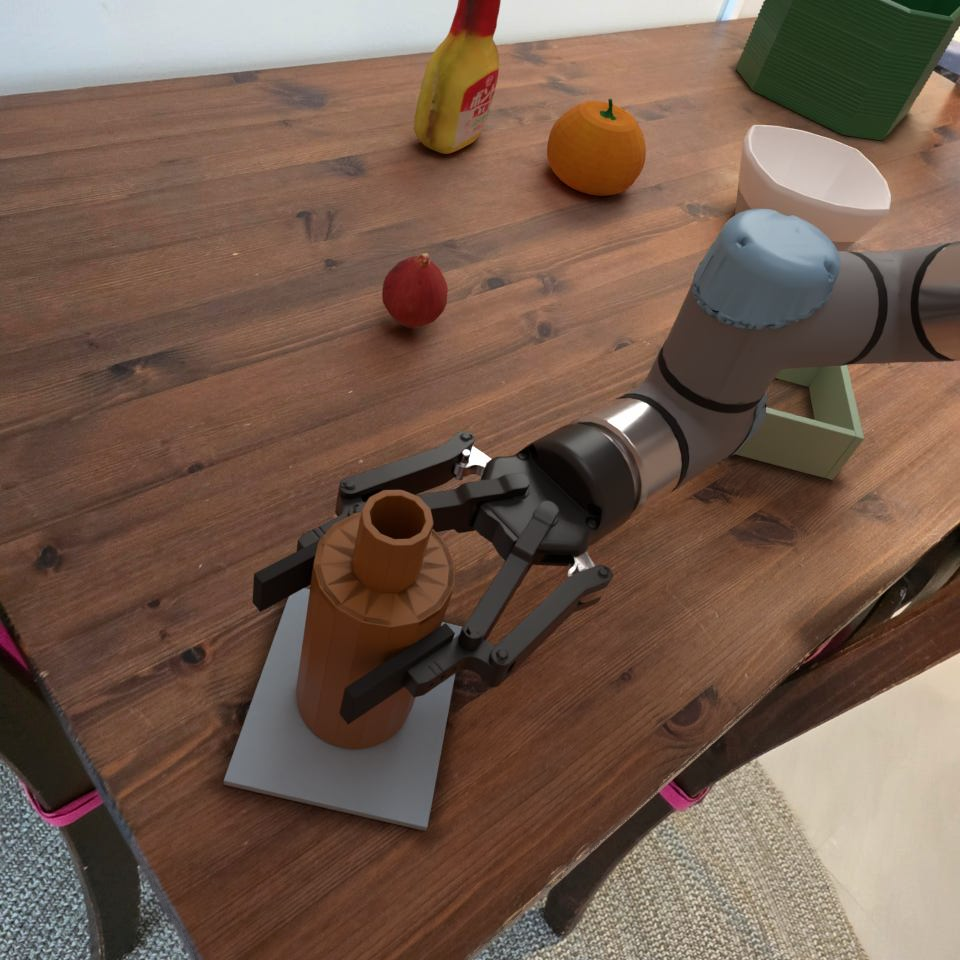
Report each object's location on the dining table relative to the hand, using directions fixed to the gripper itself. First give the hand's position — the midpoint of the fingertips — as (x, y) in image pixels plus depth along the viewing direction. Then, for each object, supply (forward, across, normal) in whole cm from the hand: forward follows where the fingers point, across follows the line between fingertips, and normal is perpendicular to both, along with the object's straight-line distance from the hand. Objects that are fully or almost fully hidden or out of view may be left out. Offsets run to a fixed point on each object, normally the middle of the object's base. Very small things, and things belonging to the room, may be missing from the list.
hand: (300, 647), depth 45 cm
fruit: (-69, +39, -12) cm, 80 cm away
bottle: (-58, +52, -12) cm, 79 cm away
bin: (-54, +2, -11) cm, 55 cm away
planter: (-131, +43, -12) cm, 138 cm away
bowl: (-85, +20, -12) cm, 88 cm away
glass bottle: (-5, 0, -10) cm, 12 cm away
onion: (-31, +27, -12) cm, 43 cm away
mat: (-5, 0, -11) cm, 12 cm away
